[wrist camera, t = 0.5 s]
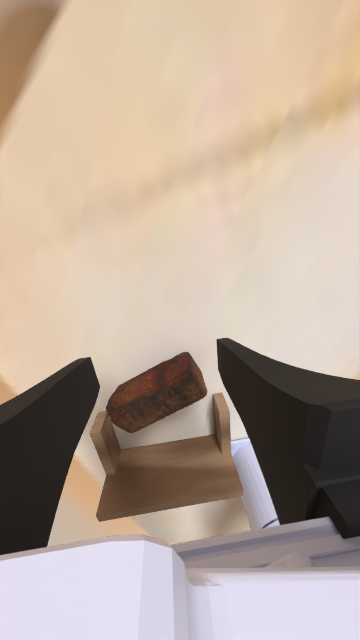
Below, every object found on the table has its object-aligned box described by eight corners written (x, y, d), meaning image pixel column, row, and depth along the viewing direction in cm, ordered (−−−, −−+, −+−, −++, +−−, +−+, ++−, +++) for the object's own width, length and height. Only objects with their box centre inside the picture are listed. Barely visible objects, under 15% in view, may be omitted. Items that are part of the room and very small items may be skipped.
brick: (186, 346, 23) (191, 369, 18) (201, 370, 24) (209, 397, 19) (112, 386, 24) (100, 417, 19) (131, 407, 25) (123, 440, 21)
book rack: (224, 438, 28) (243, 495, 22) (114, 457, 28) (98, 521, 21) (221, 392, 25) (242, 442, 19) (98, 412, 25) (74, 471, 18)
